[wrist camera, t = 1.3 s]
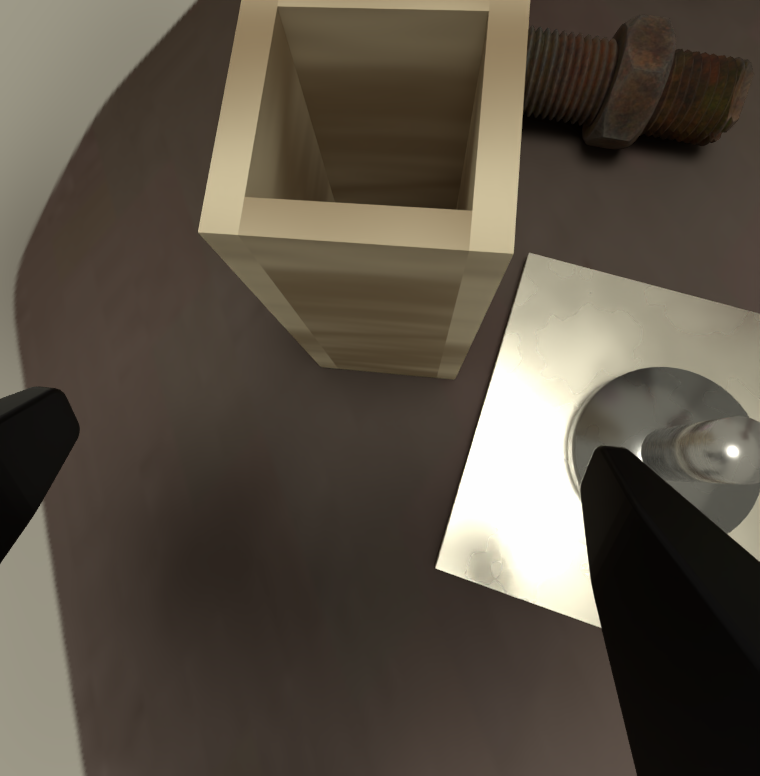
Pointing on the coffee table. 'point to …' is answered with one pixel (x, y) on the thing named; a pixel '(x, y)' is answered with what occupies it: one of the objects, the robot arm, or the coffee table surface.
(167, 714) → the coffee table surface
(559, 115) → the bolt
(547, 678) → the coffee table surface
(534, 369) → the square metal plate
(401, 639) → the coffee table surface
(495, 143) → the sleeve
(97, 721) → the coffee table surface
